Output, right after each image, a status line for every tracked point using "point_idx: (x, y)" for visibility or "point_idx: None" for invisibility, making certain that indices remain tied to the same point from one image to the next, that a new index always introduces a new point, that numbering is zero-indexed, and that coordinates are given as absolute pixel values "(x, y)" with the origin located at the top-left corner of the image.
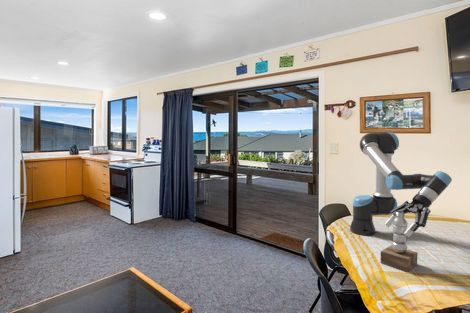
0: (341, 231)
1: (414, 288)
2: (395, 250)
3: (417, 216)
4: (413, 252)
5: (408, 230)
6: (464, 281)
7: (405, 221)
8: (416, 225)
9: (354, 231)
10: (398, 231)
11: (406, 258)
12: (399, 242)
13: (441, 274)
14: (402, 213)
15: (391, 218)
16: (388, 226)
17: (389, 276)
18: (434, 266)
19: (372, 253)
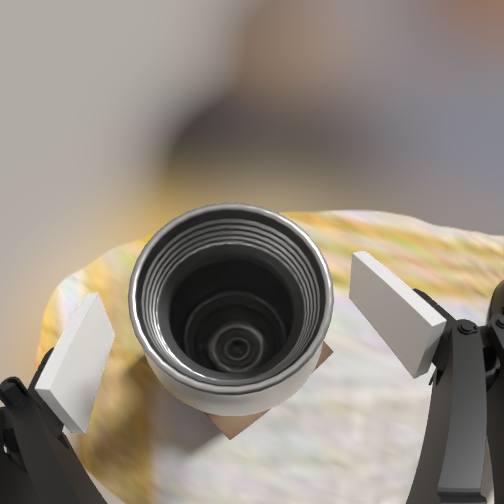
0: (499, 247)
1: (67, 294)
2: (217, 315)
3: (41, 492)
4: (230, 420)
5: (74, 322)
6: (103, 483)
7: (155, 364)
8: (30, 392)
9: (501, 283)
10: (190, 301)
11: None
12: (199, 324)
13: (145, 456)
14: (129, 300)
15: (397, 303)
16: (351, 291)
17: (137, 256)
18: (212, 477)
19: (339, 282)
